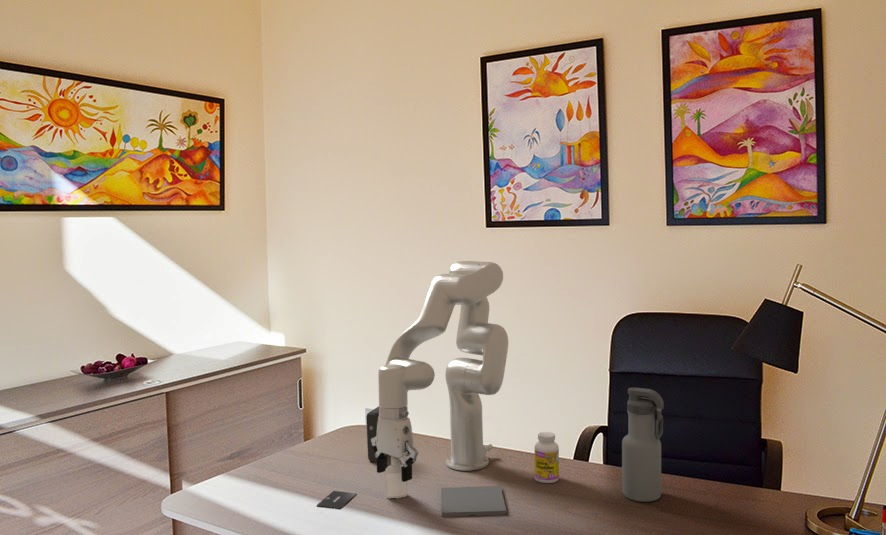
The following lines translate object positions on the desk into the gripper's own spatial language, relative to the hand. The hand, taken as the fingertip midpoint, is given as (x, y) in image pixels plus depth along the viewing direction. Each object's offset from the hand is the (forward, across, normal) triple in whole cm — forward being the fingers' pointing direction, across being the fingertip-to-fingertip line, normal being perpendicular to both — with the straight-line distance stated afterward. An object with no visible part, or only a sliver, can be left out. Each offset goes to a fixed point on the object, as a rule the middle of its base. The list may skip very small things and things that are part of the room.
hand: (394, 475), depth 194 cm
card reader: (+6, +26, -17) cm, 32 cm away
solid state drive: (+7, +10, +11) cm, 17 cm away
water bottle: (+5, -49, -43) cm, 65 cm away
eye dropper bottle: (+6, 0, -1) cm, 6 cm away
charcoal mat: (+6, -18, -11) cm, 22 cm away
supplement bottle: (+5, -23, -36) cm, 43 cm away
